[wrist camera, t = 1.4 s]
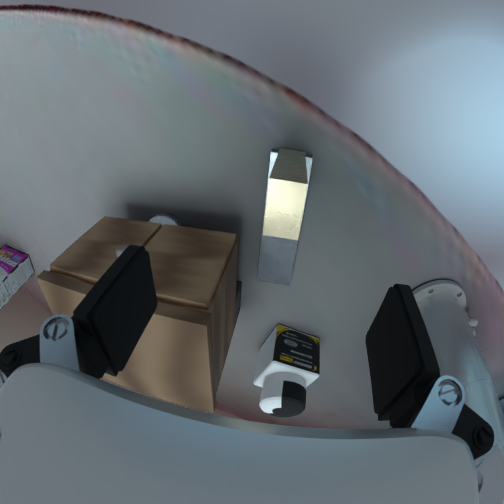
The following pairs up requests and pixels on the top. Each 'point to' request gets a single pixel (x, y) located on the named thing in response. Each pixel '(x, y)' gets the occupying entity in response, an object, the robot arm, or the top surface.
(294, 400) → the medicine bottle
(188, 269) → the cabinet
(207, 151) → the top surface
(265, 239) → the wood and grey l-block
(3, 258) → the candy bar box
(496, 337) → the top surface
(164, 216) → the steel token
